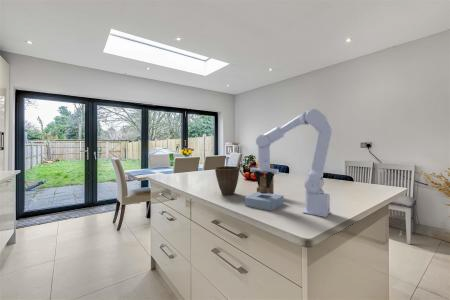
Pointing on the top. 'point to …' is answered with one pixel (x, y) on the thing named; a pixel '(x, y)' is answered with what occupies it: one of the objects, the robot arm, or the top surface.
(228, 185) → the plant pot
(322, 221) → the top surface
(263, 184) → the peg
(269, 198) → the socket
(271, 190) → the wooden block
